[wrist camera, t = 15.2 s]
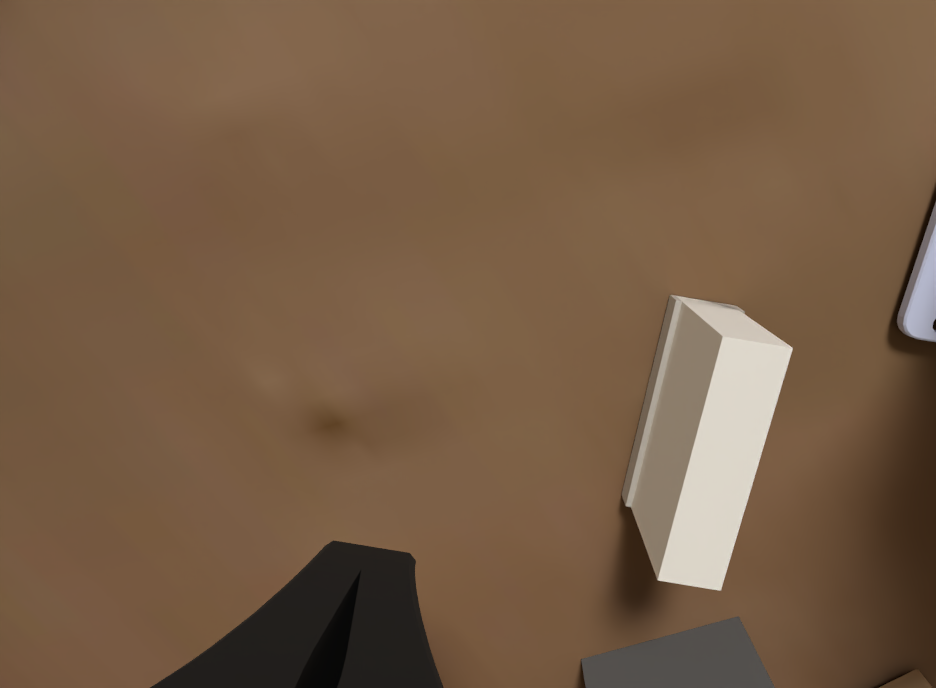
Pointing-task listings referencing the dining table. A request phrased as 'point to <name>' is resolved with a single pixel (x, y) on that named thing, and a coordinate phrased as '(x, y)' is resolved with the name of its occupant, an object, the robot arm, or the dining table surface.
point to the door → (909, 681)
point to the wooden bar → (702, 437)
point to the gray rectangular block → (683, 661)
